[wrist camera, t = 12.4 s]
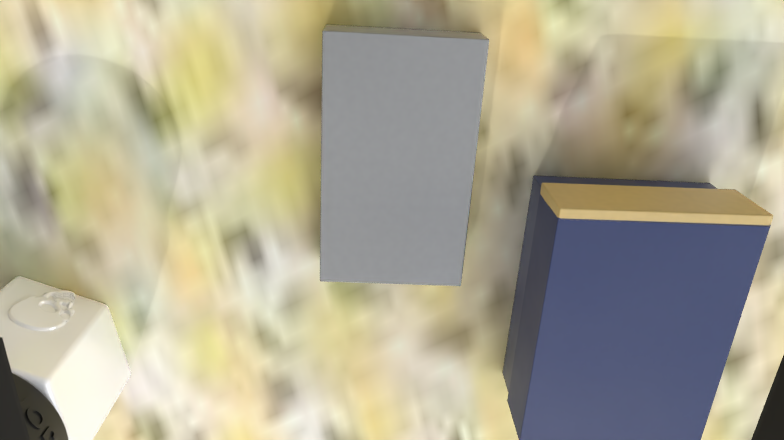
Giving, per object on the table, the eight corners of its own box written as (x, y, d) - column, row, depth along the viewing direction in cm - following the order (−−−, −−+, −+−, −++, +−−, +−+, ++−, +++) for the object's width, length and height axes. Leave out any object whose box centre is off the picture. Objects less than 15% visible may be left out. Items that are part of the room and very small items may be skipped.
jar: (167, 289, 35) (73, 436, 24) (129, 399, 38) (30, 577, 27) (5, 233, 34) (-175, 362, 23) (-22, 352, 36) (-196, 519, 25)
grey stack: (327, 8, 29) (319, 20, 25) (474, 16, 30) (493, 29, 25) (324, 236, 34) (317, 281, 30) (451, 241, 35) (463, 286, 30)
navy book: (541, 182, 28) (559, 207, 25) (735, 189, 28) (774, 215, 26) (506, 400, 33) (519, 442, 30) (672, 404, 33) (699, 444, 31)
